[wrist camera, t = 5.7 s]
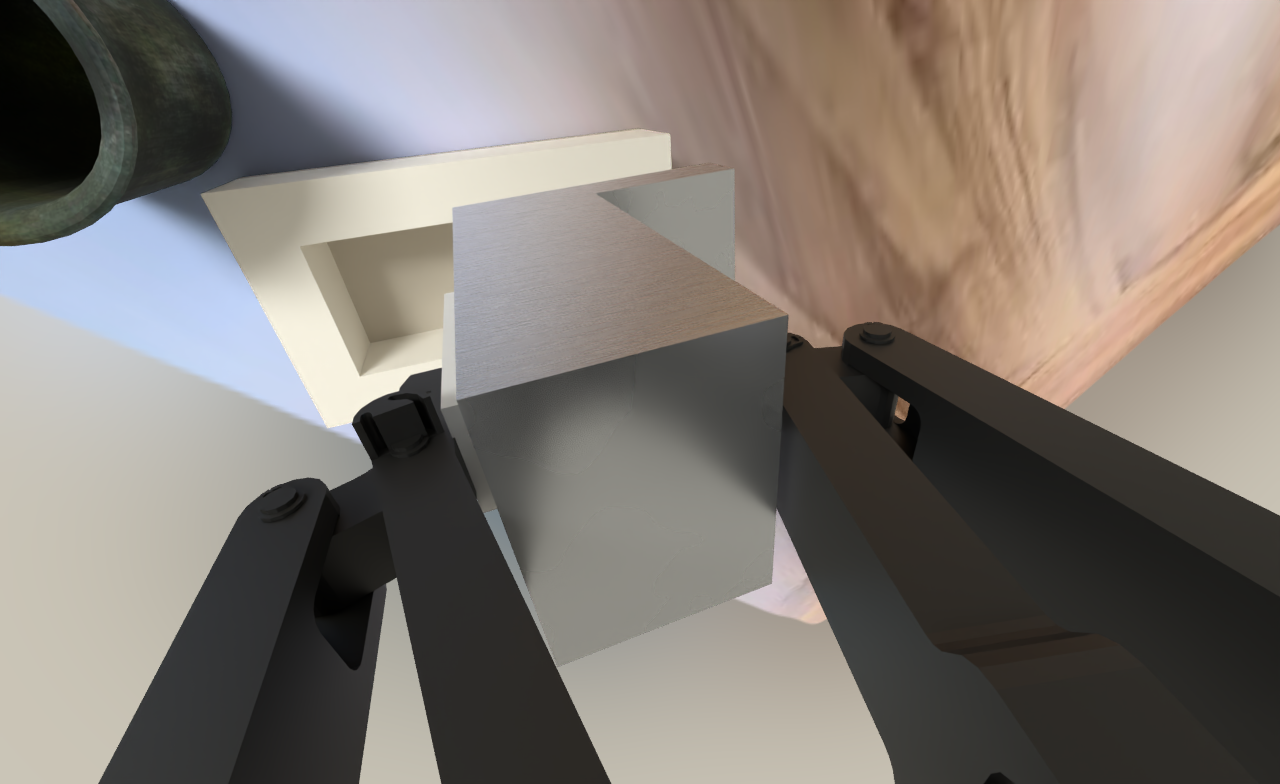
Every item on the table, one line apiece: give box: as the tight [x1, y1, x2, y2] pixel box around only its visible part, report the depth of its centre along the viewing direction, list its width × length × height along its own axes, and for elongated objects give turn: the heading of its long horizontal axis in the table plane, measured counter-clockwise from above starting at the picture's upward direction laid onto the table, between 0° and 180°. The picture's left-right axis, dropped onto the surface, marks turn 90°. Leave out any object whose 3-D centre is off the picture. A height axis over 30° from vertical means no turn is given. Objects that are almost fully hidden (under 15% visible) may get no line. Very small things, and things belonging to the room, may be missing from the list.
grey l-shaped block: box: [452, 163, 788, 667], centre depth 14 cm, size 6×10×13 cm, turn 96°
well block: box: [201, 128, 672, 428], centre depth 32 cm, size 14×24×6 cm, turn 95°
